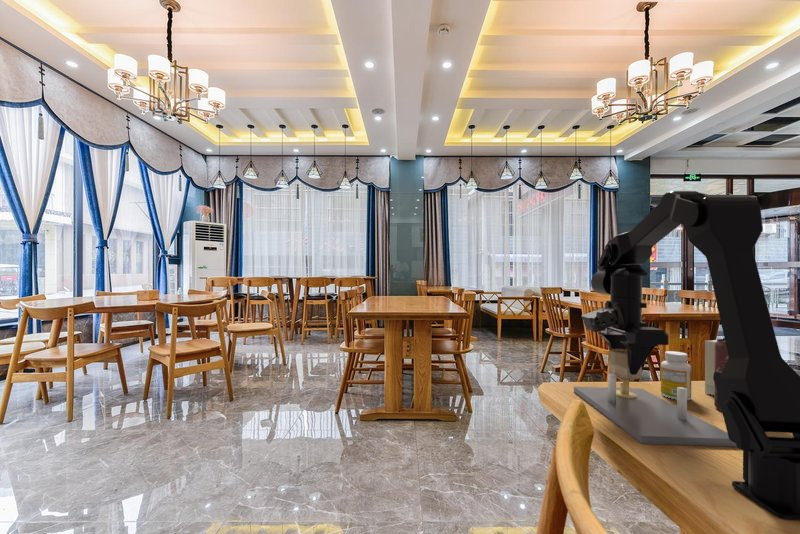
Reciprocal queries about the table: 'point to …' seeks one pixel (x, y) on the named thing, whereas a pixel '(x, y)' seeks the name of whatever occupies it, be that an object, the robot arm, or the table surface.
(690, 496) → the table surface
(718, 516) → the table surface
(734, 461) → the table surface
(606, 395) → the slate board
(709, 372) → the skincare box
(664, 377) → the supplement bottle
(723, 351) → the can
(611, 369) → the napkin ring
